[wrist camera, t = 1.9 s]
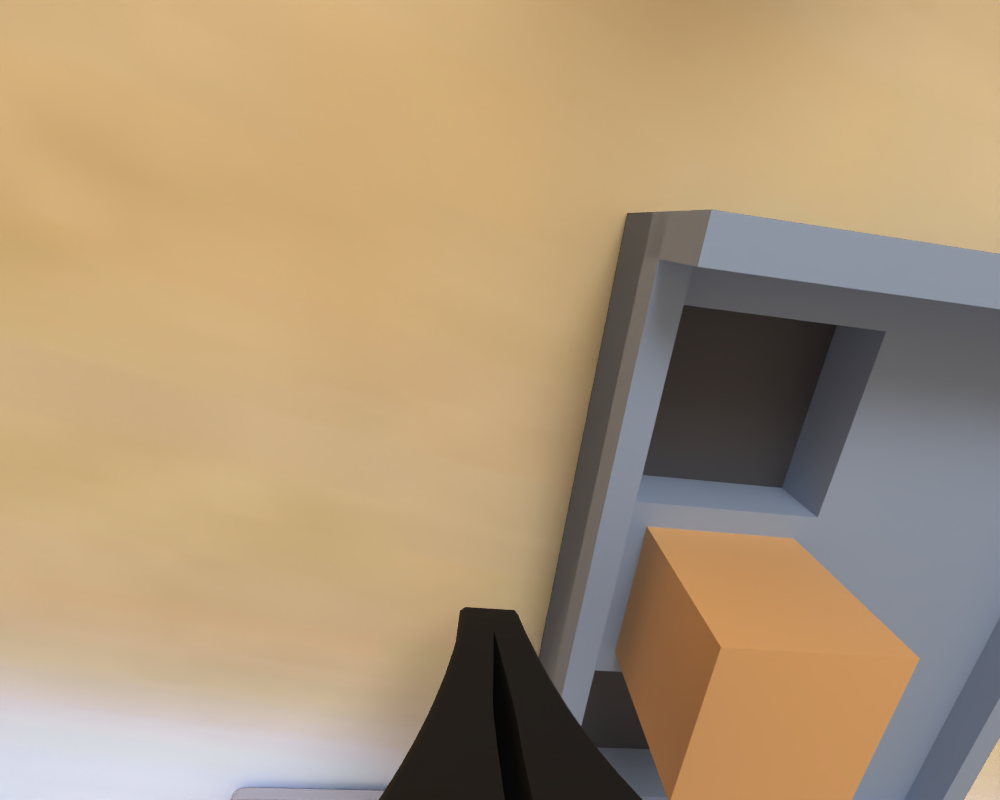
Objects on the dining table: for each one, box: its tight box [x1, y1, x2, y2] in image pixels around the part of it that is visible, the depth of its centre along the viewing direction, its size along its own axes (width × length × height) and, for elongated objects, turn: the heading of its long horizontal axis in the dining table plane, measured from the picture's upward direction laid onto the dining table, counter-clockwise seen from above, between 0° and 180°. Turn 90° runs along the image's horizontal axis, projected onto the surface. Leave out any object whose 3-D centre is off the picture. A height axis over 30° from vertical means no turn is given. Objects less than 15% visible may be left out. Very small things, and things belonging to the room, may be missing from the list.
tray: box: [539, 210, 1000, 800], centre depth 16 cm, size 20×15×5 cm
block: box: [615, 527, 920, 800], centre depth 14 cm, size 4×4×4 cm
